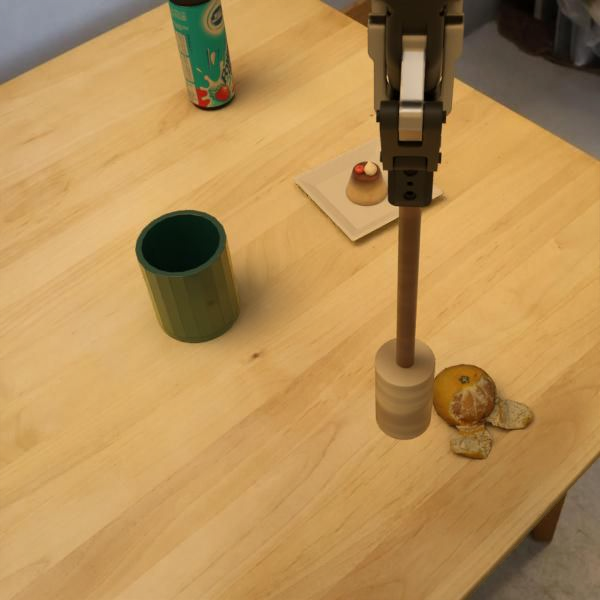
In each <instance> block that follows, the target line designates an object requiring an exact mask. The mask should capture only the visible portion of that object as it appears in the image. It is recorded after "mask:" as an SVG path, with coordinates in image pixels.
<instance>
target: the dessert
mask: <svg viewBox="0 0 600 600" xmlns="http://www.w3.org/2000/svg"><path fill="white" fill-rule="evenodd" d="M380 151H381V142H380V134H379V135H376V136H374V137H372V138H370V139H368V140H366V141H364V142H362V143H359V144H358V145H356V146H353V147H352V148H350V149H347V150H346V151H344V152H342V153H340V154H338V155H336V156H334V157H331V158H330V159H328V160H326V161H324V162H321V163H319V164H317V165H315V166H314V167H312V168H311V167H310V168H309V169H307V170H305V171H304V172H301V173H299V174H296V175H295V176H293V177H292V180H293V181H294V182H295V184H297V186H299V187H300V188H301V189H302V190H303V191H304V192H305V193H306V194H307V195H308V197H310V199H311V200H312V201H313V202H314V203H315V204H316V205H317V206H318V207H319V208H320V209H321V210H322V211H323V212H324V213H325V214H326V215H327V217H329V218H330V220H331V221H333V223H334V224H336V226H337V227H338V228H339V229H340V230H341V231H342V232H343V233H344V234H345V235H346V236H347V237H348V238H349V239H350V240H351V241H352V242H355V241H357V240H358V239H359V240H360V238H362V237H365V236H366V235H368V234H370V233H372V232H374V231H376V230H377V229H379V228H382V227H383V226H385V225H387V224H388V223H390V222H392V221H394V220H396V219H399V207H398V206H393V205H391V204H390V203H389V202H388V171H386V170H383V165H382V162H380ZM443 194H444V191H442V189H440V188H439V187H438V186H437V185H436V184H434V183H433V193H432V200H435V199H436V198H437V197H440V196H441V195H443Z"/></svg>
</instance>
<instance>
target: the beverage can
mask: <svg viewBox="0 0 600 600" xmlns="http://www.w3.org/2000/svg"><path fill="white" fill-rule="evenodd" d="M167 2H168V7H169V12H170V17H171V22H172V27H173V31H174V35H175V41H176V46H177V49H178V50H177V51H178V54H179V58H180V62H181V68H182V72H183V76H184V81H185V87H186V90H187V96H188V98H189V100H190V102H191V103H192V105H194V107H196V108H198V109H202V110H217V109H220V108H223V107H226V106H227V105H229V104H230V102H231V101H232V100H233V99H234V96H235V92H236V85H235V81H234V74H233V69H232V62H231V61H232V60H231V56H230V55H231V54H230V49H229V42H228V38H227V37H228V36H227V30H226V24H225V19H224V13H223V6H222V1H221V0H167Z"/></svg>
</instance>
